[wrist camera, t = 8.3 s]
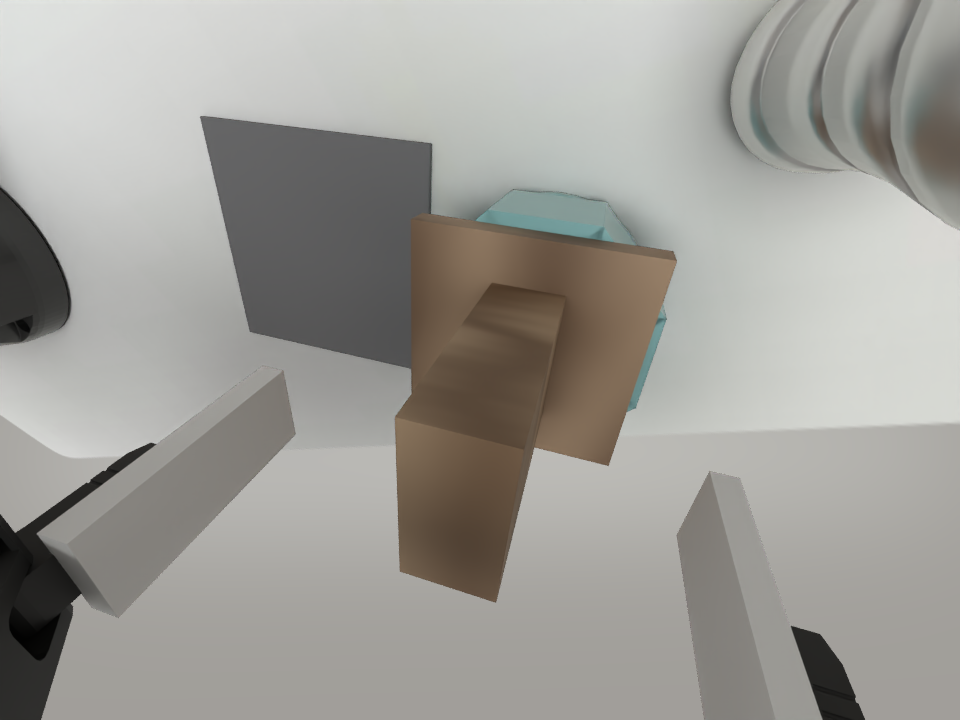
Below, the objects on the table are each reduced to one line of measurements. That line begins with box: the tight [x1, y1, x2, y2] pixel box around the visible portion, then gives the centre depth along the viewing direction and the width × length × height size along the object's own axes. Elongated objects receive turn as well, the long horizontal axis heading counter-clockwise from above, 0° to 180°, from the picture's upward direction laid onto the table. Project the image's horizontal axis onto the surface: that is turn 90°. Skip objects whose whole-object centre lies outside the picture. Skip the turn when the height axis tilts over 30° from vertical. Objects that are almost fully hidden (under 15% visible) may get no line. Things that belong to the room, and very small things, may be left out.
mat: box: [200, 116, 432, 368], centre depth 27 cm, size 14×14×1 cm
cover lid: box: [395, 213, 677, 602], centre depth 15 cm, size 10×10×10 cm
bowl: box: [475, 189, 667, 412], centre depth 22 cm, size 11×11×6 cm
